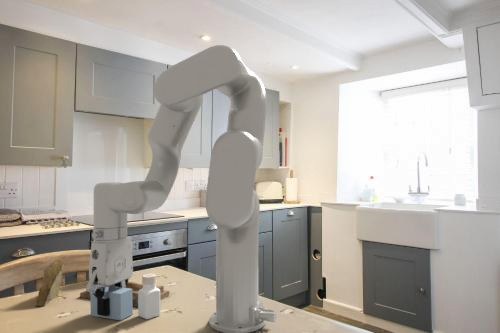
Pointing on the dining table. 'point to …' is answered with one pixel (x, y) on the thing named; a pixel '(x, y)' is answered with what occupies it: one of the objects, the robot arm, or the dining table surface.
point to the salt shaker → (149, 297)
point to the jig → (133, 292)
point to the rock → (50, 283)
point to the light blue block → (115, 303)
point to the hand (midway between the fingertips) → (110, 310)
